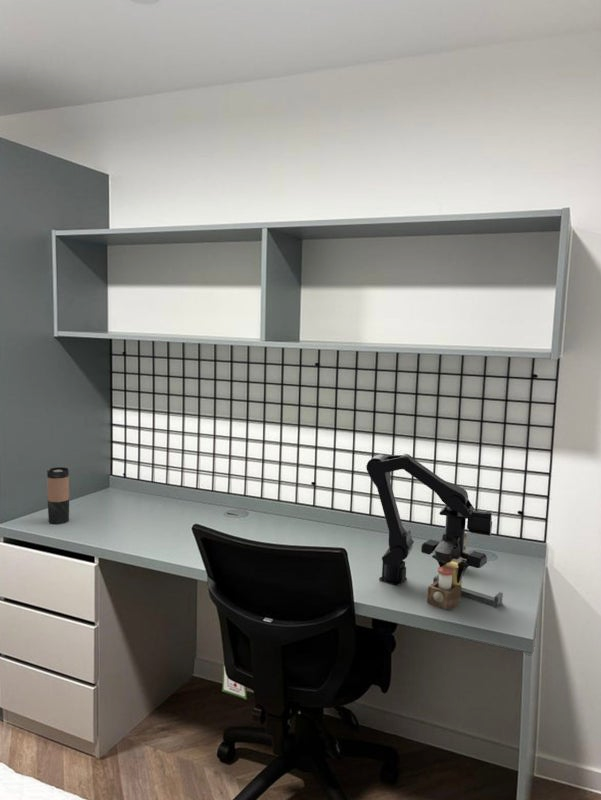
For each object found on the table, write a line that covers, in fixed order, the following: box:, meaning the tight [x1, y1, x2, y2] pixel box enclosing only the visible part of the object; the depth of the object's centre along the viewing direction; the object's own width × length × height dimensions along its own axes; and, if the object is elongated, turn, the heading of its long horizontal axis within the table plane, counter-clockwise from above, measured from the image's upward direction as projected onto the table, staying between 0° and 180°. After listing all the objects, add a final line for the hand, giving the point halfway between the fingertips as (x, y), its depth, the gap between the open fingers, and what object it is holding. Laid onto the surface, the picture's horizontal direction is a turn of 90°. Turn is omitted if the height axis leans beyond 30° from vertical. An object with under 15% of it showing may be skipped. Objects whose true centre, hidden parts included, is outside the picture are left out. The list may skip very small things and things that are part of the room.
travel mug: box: [46, 466, 70, 525], centre depth 241 cm, size 8×8×20 cm
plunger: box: [437, 566, 454, 591], centre depth 183 cm, size 4×4×7 cm
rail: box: [432, 573, 504, 608], centre depth 189 cm, size 20×4×3 cm, turn 52°
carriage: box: [444, 561, 463, 586], centre depth 192 cm, size 4×6×8 cm, turn 142°
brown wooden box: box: [426, 579, 462, 612], centre depth 184 cm, size 7×7×5 cm
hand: (451, 580), depth 192 cm, fingers open, 4 cm apart
